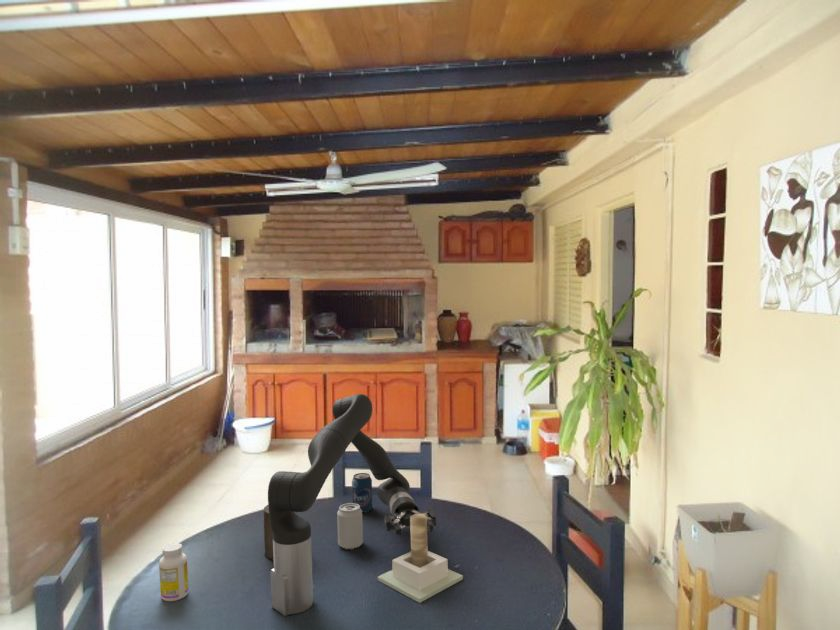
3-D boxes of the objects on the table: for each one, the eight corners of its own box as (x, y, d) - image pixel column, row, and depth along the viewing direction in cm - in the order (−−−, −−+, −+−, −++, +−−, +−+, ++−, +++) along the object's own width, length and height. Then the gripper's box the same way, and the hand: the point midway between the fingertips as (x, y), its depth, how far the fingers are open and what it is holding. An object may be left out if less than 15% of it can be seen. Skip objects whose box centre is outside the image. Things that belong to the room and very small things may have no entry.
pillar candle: (257, 557, 174) (256, 507, 173) (275, 543, 184) (274, 495, 183) (287, 562, 172) (286, 511, 170) (304, 547, 181) (303, 498, 180)
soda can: (354, 514, 205) (353, 479, 204) (351, 506, 212) (350, 473, 211) (374, 512, 207) (373, 477, 206) (370, 504, 213) (369, 471, 213)
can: (365, 540, 185) (364, 501, 184) (360, 551, 177) (359, 511, 177) (341, 539, 186) (340, 501, 185) (335, 550, 178) (334, 510, 177)
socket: (419, 602, 149) (419, 581, 149) (377, 580, 160) (377, 560, 160) (462, 579, 160) (462, 559, 160) (420, 559, 171) (420, 540, 171)
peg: (419, 581, 157) (418, 522, 156) (408, 576, 160) (406, 517, 159) (431, 575, 160) (430, 517, 159) (420, 570, 163) (418, 512, 162)
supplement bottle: (180, 586, 159) (178, 538, 158) (193, 594, 155) (191, 545, 154) (155, 596, 154) (153, 548, 153) (169, 605, 150) (166, 555, 149)
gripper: (379, 498, 178) (389, 520, 162) (426, 493, 181) (440, 514, 165) (380, 523, 178) (390, 547, 163) (427, 518, 182) (441, 541, 166)
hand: (415, 530), depth 164 cm, fingers open, 8 cm apart
